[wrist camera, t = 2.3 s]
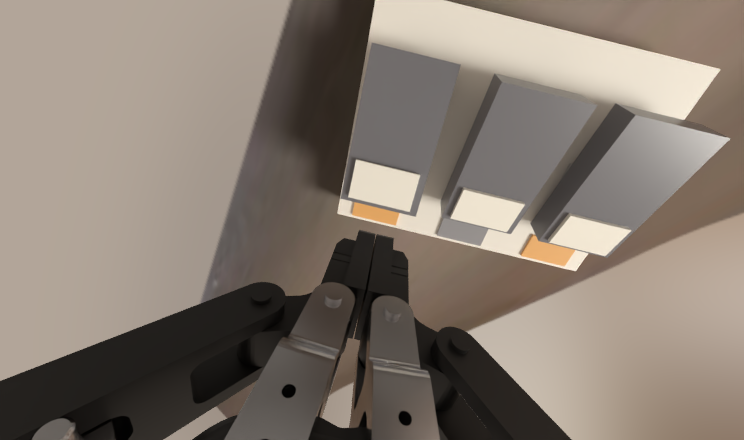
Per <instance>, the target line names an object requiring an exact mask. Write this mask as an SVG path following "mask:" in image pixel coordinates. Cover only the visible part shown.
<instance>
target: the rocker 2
mask: <svg viewBox="0 0 744 440" xmlns="http://www.w3.org/2000/svg"><path fill="white" fill-rule="evenodd" d="M729 139H731V138H729V137H726V136H724V135H722V134H720V133H718V132H716V131H714V130H712V129H710V128H708V127H706V126H704V125H702V124H698V123H694V122H690V121H686V120H682V119H678V118H673V117H669V116H665V115H661V114H657V113H653V112H649V111H645V110H641V109H637V108H633V107H629V106H625V105H621V104H617V103H615V105H614V106H613V107H612V109H611V110H610V112H609V113H608V115H607V116H606V117H605V119H604V120H603V122H602V123H601V124H600V126H599V127H598V129H597V130H596V131H595V133H594V134H593V136H592V137H591V138H590V140H589V141H588V143H587V144H586V146H585V147H584V148H583V150H582V151H581V153H580V154H579V155H578V157H577V158H576V160H575V161H574V162H573V164H572V165H571V167H570V168H569V169H568V171H567V172H566V174H565V175H564V177H563V178H562V179H561V181H560V182H559V184H558V185H557V186H556V188H555V189H554V191H553V192H552V193H551V195H550V196H549V198H548V199H547V200H546V202H545V203H544V205H543V206H542V208H541V209H540V210H539V212H538V213H537V215H536V216H535V217H534V219H533V220H532V222H531V223H530V224H531V226H532V228H533V230H534V232H535V235H536V237H537V239H538V241H540V242H544V243H549V244H553V245H557V246H561V247H565V248H569V249H573V250H577V251H582V252H586V253H590V254H594V255H598V256H602V257H606V258H607V257H608V256H609V255H610V254H612V253H613V252H614V251H615V250H616V249H617V248H618V247H619V246H620V245H621V244H622V243H623V242H624V241H625V240H626V239H627V238H628V237H629V236H630V235H631V234H632V233H633V232H634V231H635V230H636V229H637V228H638V227H639V226H640V225H642V224H643V223H644V222H645V221H646V220H647V219H648V218H649V217H650V216H651V215H652V214H653V213H654V212H655V211H656V210H657V209H658V208H659V207H660V206H661V205H662V204H663V203H664V202H665V201H666V200H667V199H668V198H669V197H671V196H672V195H673V194H674V193H675V192H676V191H677V190H678V189H679V188H680V187H681V186H682V185H683V184H684V183H685V182H686V181H687V180H688V179H689V178H690V177H691V176H692V175H693V174H694V173H695V172H696V171H697V170H698V169H699V168H701V167H702V166H703V165H704V164H705V163H706V162H707V161H708V160H709V159H710V158H711V157H712V156H713V155H714V154H715V153H716V152H717V151H718V150H719V149H720V148H721V147H722V146H723V145H724V144H725V143H726V142H727V141H728V140H729Z"/></svg>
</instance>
